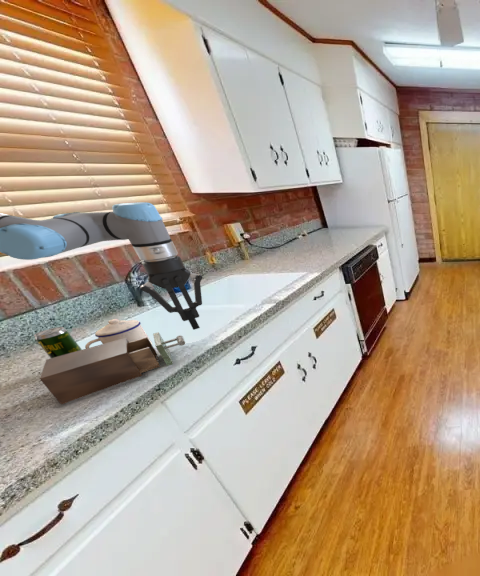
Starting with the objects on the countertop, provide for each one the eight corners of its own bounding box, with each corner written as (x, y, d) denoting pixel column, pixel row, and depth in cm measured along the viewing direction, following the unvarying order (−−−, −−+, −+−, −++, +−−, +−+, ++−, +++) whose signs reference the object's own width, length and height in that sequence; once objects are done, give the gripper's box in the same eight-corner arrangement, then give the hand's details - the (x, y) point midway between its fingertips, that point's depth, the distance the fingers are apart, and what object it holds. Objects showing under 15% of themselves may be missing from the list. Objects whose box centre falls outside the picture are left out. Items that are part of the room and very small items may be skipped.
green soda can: (67, 363, 90) (41, 330, 86) (94, 357, 93) (69, 324, 88) (55, 372, 86) (26, 338, 81) (83, 366, 89) (57, 332, 84)
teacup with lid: (150, 340, 102) (132, 310, 97) (157, 347, 97) (137, 317, 92) (94, 358, 93) (71, 327, 88) (98, 368, 88) (73, 335, 83)
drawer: (188, 345, 98) (178, 326, 95) (192, 357, 92) (182, 338, 89) (107, 370, 86) (93, 350, 83) (106, 387, 80) (91, 365, 77)
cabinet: (141, 362, 91) (126, 337, 87) (143, 378, 84) (127, 352, 81) (67, 386, 81) (46, 359, 78) (62, 406, 75) (39, 378, 71)
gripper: (125, 266, 78) (167, 340, 88) (193, 255, 87) (225, 323, 97) (125, 260, 82) (165, 331, 92) (190, 250, 92) (220, 316, 101)
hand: (196, 327), depth 94 cm, fingers closed
